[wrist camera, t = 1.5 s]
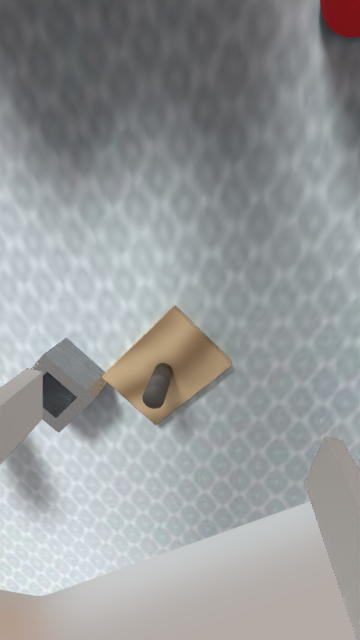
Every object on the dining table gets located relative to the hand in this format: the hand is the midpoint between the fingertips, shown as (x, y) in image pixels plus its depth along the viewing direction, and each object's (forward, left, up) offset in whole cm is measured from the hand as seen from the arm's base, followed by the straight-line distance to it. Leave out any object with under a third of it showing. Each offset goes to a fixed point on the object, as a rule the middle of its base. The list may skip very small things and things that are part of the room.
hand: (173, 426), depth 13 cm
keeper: (+3, -9, -21) cm, 24 cm away
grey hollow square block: (-5, -20, -21) cm, 30 cm away
